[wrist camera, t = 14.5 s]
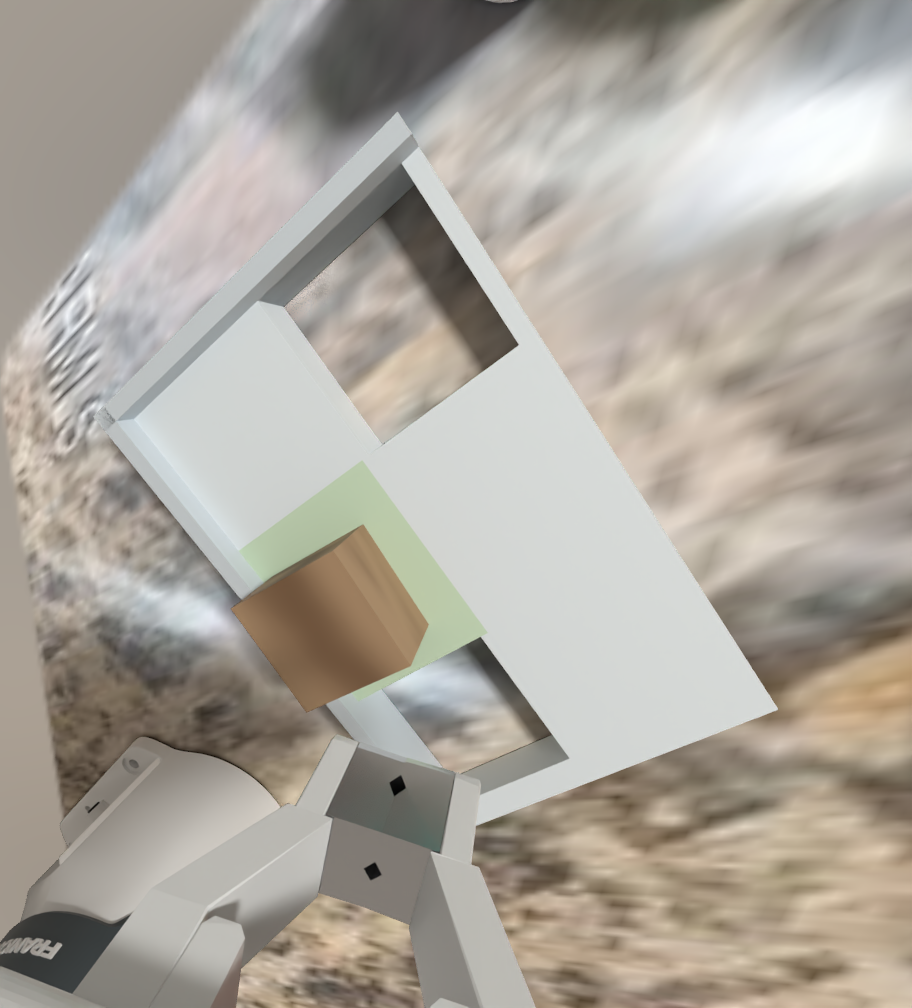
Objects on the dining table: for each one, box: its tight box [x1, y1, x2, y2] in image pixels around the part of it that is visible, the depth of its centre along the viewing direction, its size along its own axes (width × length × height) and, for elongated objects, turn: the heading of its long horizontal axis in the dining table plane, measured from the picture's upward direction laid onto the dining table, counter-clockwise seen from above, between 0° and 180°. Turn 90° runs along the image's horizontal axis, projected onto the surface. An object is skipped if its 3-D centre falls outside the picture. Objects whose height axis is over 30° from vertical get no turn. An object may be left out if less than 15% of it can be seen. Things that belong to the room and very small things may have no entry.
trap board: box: [93, 112, 778, 826], centre depth 27 cm, size 22×34×4 cm, turn 35°
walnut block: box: [231, 525, 429, 713], centre depth 26 cm, size 7×7×4 cm
